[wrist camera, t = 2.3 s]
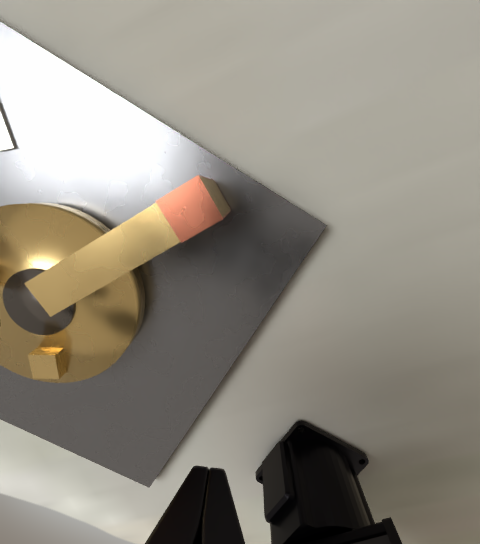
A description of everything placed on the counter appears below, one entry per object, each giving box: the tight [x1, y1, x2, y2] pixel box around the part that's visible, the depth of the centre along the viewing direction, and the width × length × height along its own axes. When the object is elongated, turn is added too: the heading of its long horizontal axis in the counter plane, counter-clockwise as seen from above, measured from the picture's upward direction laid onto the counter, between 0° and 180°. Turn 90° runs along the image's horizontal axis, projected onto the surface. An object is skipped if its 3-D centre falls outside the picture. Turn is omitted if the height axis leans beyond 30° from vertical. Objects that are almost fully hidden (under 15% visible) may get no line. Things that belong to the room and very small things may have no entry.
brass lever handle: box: [0, 175, 231, 383], centre depth 15 cm, size 12×16×5 cm
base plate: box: [0, 22, 327, 487], centre depth 19 cm, size 24×24×1 cm
